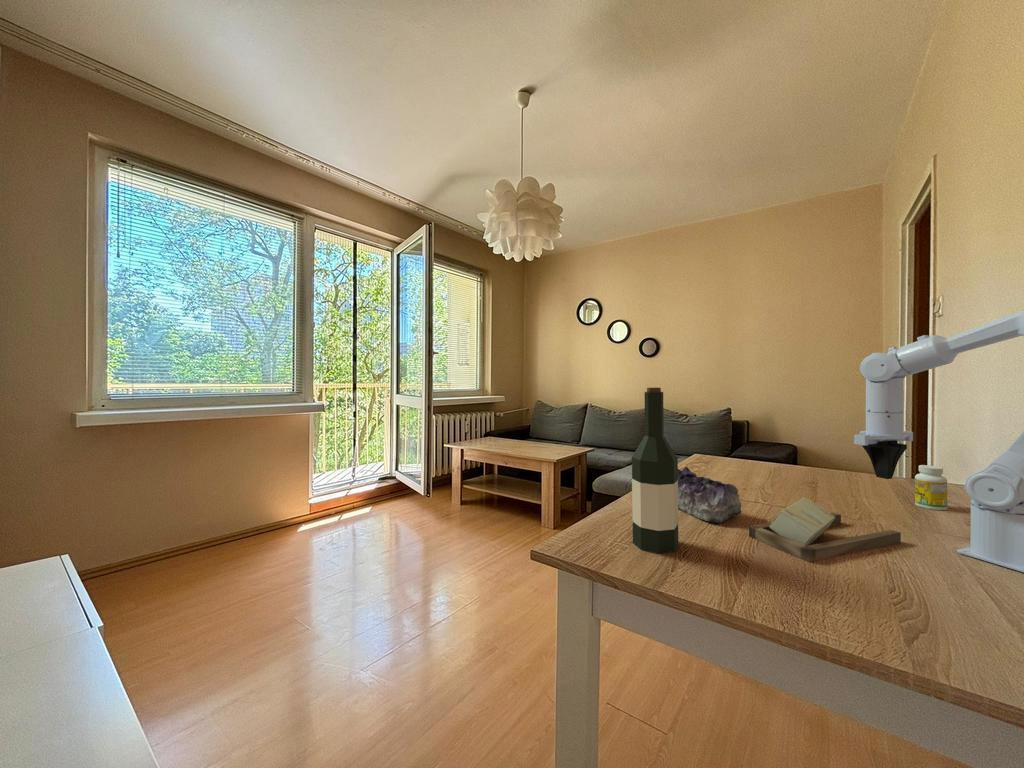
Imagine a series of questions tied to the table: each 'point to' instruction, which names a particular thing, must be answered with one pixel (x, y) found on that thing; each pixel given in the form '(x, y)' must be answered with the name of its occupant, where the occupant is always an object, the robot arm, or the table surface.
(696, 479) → the geode
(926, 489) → the supplement bottle
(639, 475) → the wine bottle
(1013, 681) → the table surface
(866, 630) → the table surface
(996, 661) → the table surface
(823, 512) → the skincare box
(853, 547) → the cradle
